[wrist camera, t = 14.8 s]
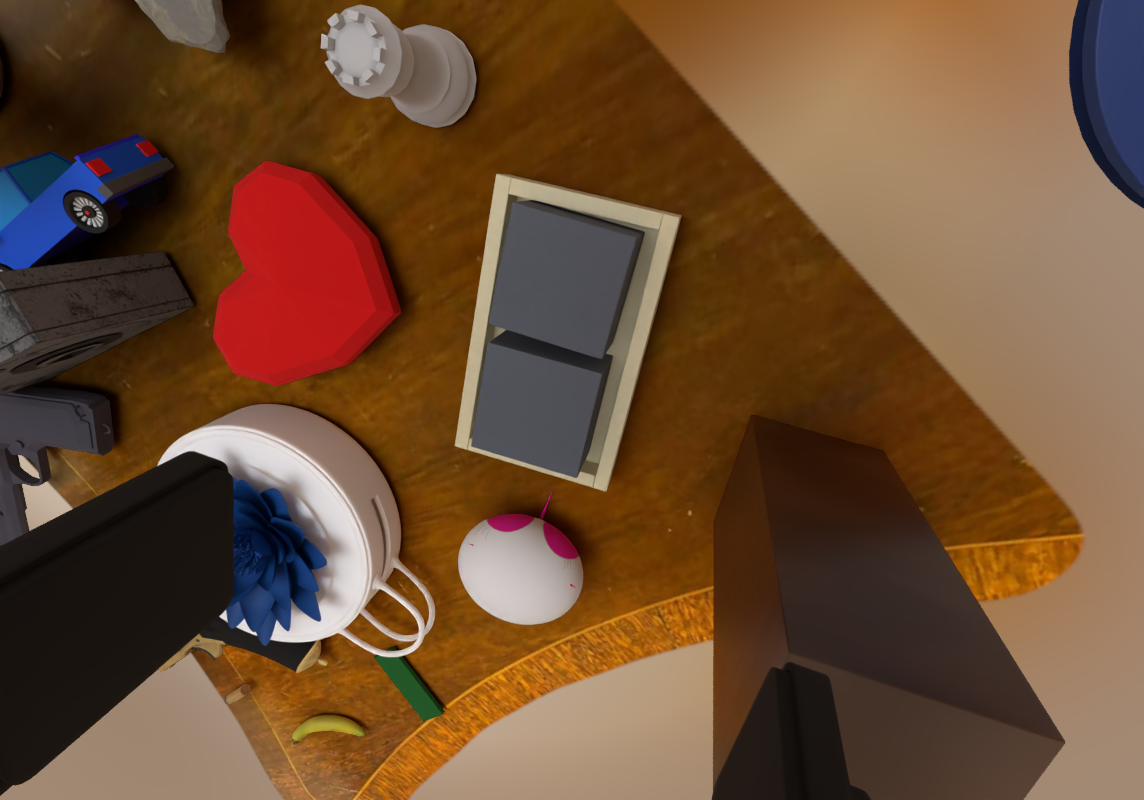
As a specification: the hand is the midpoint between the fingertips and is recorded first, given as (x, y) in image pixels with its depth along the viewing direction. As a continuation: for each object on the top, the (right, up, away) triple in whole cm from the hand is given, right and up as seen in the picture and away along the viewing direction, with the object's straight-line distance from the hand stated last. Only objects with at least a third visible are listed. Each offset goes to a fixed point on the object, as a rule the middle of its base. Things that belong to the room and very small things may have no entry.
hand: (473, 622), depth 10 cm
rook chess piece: (-5, +20, +21) cm, 29 cm away
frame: (+1, +7, +24) cm, 25 cm away
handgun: (-32, -4, +35) cm, 47 cm away
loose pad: (+2, +10, +22) cm, 24 cm away
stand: (+14, -1, +24) cm, 27 cm away
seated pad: (0, +4, +24) cm, 25 cm away
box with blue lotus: (-16, -5, +32) cm, 36 cm away
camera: (-30, +9, +30) cm, 43 cm away
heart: (-12, +11, +26) cm, 30 cm away
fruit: (-18, -21, +38) cm, 47 cm away
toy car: (-26, +13, +26) cm, 39 cm away
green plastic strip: (-9, -17, +34) cm, 40 cm away
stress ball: (-1, -5, +29) cm, 29 cm away
